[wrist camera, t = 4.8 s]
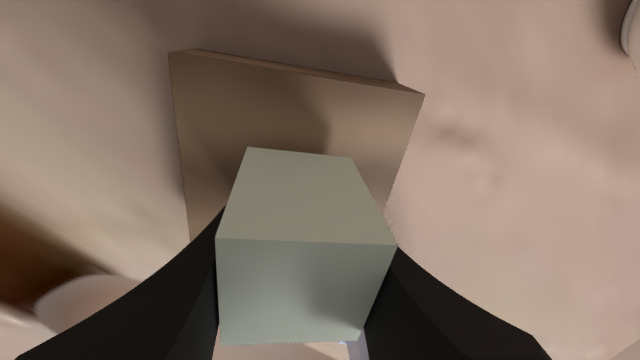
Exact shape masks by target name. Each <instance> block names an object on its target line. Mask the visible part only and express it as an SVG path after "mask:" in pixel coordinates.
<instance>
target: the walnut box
mask: <svg viewBox="0 0 640 360" xmlns="http://www.w3.org/2000/svg"><path fill="white" fill-rule="evenodd" d="M168 60H169V68H170V76H171V85H172V93H173V101H174V110H175V118H176V126H177V135H178V143H179V151H180V160H181V168H182V176H183V185H184V193H185V201H186V210H187V218H188V226H189V235H190V243H191V242H192V241H193V240H194V239H195V238H196V237H197V236H198V235H199V234H200V233H201V232H202V231H203V230H204V228H205V227H206V226H207V225H208V224H209V223H210V222H211V221H212V220H213V219H214V218H215V216H216V215H217V214H218V213H219V212H220V210H221V209H222V208H223V207H224V206H226V205H227V202H228V200H229V197H230V194H231V191H232V188H233V186H234V183H235V180H236V177H237V174H238V171H239V169H240V166H241V163H242V160H243V157H244V155H245V152H246V149H247V147H255V148H265V149H274V150H284V151H293V152H303V153H312V154H321V155H331V156H340V157H350V158H352V160H353V162H354V164H355V166H356V168H357V169H358V171H359V173H360V175H361V177H362V179H363V181H364V182H365V184H366V186H367V188H368V190H369V192H370V194H371V195H372V197H373V199H374V201H375V203H376V205H377V207H378V208H379V210H380V212H381V214H383V211H384V209H385V206H386V203H387V200H388V198H389V195H390V192H391V189H392V186H393V184H394V181H395V178H396V175H397V173H398V170H399V167H400V164H401V161H402V159H403V156H404V153H405V150H406V147H407V145H408V142H409V139H410V136H411V134H412V131H413V128H414V125H415V122H416V120H417V117H418V114H419V111H420V109H421V106H422V103H423V100H424V97H425V94H423V93H421V92H418V91H416V90H413V89H411V88H409V87H406V86H404V85H401V84H399V83H395V82H389V81H383V80H377V79H371V78H365V77H359V76H353V75H348V74H342V73H336V72H330V71H324V70H318V69H312V68H306V67H300V66H294V65H289V64H283V63H277V62H271V61H265V60H259V59H253V58H247V57H241V56H235V55H230V54H224V53H218V52H212V51H206V50H200V49H189V50H181V51H174V52H168Z"/></svg>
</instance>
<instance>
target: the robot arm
mask: <svg viewBox="0 0 640 360" xmlns="http://www.w3.org/2000/svg"><path fill="white" fill-rule="evenodd" d="M225 208H226V206H224V207H223V208H222V209H221V210H220V212H219V213H218V214H217V215H216V216H215V218H214V219H213V220H212V221H211V222H210V223H209V224H208V225H207V226H206V227H205V228H204V230H203V231H202V232H201V233H200V234H199V235H198V236H197V237H196V238H195V239H194V240H193V241H192V242H191V243H189V244H188V245H187V246H186V247H185V248H184V249H183V250H182V251H181V252H180V253H179V254H177V255H176V256H175V257H174V258H173V259H172V260H170V261H169V262H168V263H167V264H166V265H164V266H163V267H162V268H161V269H159V270H158V271H157V272H156V273H154V274H153V275H152V276H150V277H149V278H147V279H146V280H145V281H143V282H142V283H141V284H139V285H138V286H137V287H135V288H134V289H132V290H131V291H129V292H128V293H126V294H125V295H124V296H122V297H120V298H119V299H117V300H116V301H114V302H112V303H111V304H109V305H108V306H106V307H105V308H103V309H101V310H100V311H98V312H96V313H95V314H93V315H92V316H90V317H88V318H87V319H85V320H83V321H81V322H80V323H78V324H76V325H75V326H73V327H71V328H69V329H67V330H65V331H64V332H62V333H60V334H58V335H56V336H54V337H53V338H51V339H49V340H47V341H45V342H43V343H42V344H40V345H38V346H36V347H34V348H32V349H31V350H29V351H27V352H25V353H23V354H21V355H19V356H18V357H17V358H16V359H15V360H212V355H213V350H214V346H215V340H216V336H217V330H218V326H219V306H218V287H217V269H216V250H215V236H216V233H217V230H218V228H219V225H220V222H221V219H222V216H223V214H224V211H225ZM338 342H339V344H347V348H348V353H349V358H350V360H552V359H551V358H550V357H549V355H548V354H547V353H546V352H545V350H544V349H543V348H542V347H541V345H540V344H539V343H538V342H537V341H536V339H535V338H534V337H533V336H532V335H530V334H528V333H527V332H525V331H523V330H521V329H519V328H517V327H515V326H513V325H511V324H509V323H507V322H505V321H503V320H502V319H500V318H498V317H496V316H494V315H492V314H491V313H489V312H487V311H485V310H484V309H482V308H480V307H479V306H477V305H475V304H474V303H472V302H470V301H469V300H467V299H465V298H464V297H462V296H461V295H459V294H458V293H456V292H455V291H453V290H452V289H450V288H449V287H447V286H446V285H444V284H443V283H442V282H440V281H439V280H437V279H436V278H435V277H433V276H432V275H431V274H430V273H428V272H427V271H426V270H424V269H423V268H422V267H421V266H419V265H418V264H417V263H416V262H415V261H413V260H412V259H411V258H410V257H409V256H408V255H407V254H405V253H404V252H403V251H402V250H401V249H400V248H399V247H397V249H396V252H395V254H394V256H393V259H392V261H391V263H390V266H389V268H388V270H387V273H386V275H385V277H384V280H383V282H382V284H381V287H380V289H379V291H378V294H377V296H376V298H375V301H374V303H373V305H372V308H371V310H370V312H369V315H368V317H367V319H366V322H365V324H364V326H363V329H362V331H361V333H360V336H359V338H358V340H357V341H338Z"/></svg>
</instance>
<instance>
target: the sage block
mask: <svg viewBox="0 0 640 360" xmlns="http://www.w3.org/2000/svg"><path fill="white" fill-rule="evenodd" d="M397 247H398V244H397V242H396V240H395V238H394V236H393V234H392V233H391V231H390V229H389V227H388V225H387V223H386V221H385V220H384V218H383V216H382V214H381V212H380V210H379V208H378V207H377V205H376V203H375V201H374V199H373V197H372V195H371V194H370V192H369V190H368V188H367V186H366V184H365V182H364V181H363V179H362V177H361V175H360V173H359V171H358V169H357V168H356V166H355V164H354V162H353V160H352V158H350V157H340V156H331V155H321V154H312V153H303V152H293V151H284V150H274V149H265V148H255V147H247V149H246V152H245V155H244V157H243V160H242V163H241V166H240V169H239V171H238V174H237V177H236V180H235V183H234V186H233V188H232V191H231V194H230V197H229V200H228V202H227V205H226V208H225V211H224V214H223V216H222V219H221V222H220V225H219V228H218V230H217V233H216V236H215V250H216V269H217V287H218V306H219V324H220V343H221V346H226V345H254V344H279V343H280V344H281V343H308V342H335V341H357V340H358V338H359V336H360V333H361V331H362V329H363V326H364V324H365V322H366V319H367V317H368V315H369V312H370V310H371V308H372V305H373V303H374V301H375V298H376V296H377V294H378V291H379V289H380V287H381V284H382V282H383V280H384V277H385V275H386V273H387V270H388V268H389V266H390V263H391V261H392V259H393V256H394V254H395V252H396V249H397Z"/></svg>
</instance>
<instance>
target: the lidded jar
mask: <svg viewBox="0 0 640 360" xmlns="http://www.w3.org/2000/svg"><path fill="white" fill-rule="evenodd" d="M620 38H621V45H622V48H623V50H624V52H625V53H626V54H627V55H628V56H629V58H630V61H631V63H632V65H633V68H634V69H635V71H636V72H637V73H638V75H639V76H640V0H632V1H631V3H630V5H629V7H628V10H627V12H626V14H625V17H624V20H623V23H622V28H621V37H620Z"/></svg>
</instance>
